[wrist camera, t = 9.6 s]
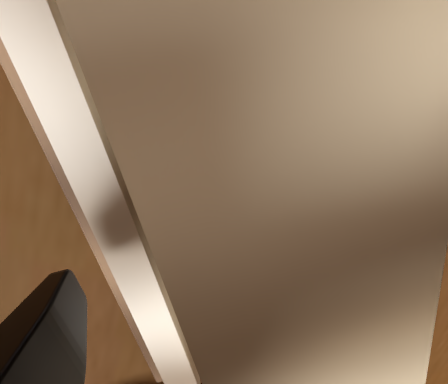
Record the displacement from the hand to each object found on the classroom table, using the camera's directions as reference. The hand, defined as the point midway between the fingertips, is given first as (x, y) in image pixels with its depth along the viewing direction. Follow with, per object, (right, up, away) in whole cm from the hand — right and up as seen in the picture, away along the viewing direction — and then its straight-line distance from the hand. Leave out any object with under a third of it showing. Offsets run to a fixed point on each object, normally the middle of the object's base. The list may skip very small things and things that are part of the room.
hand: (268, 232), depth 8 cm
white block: (0, +1, +3) cm, 3 cm away
